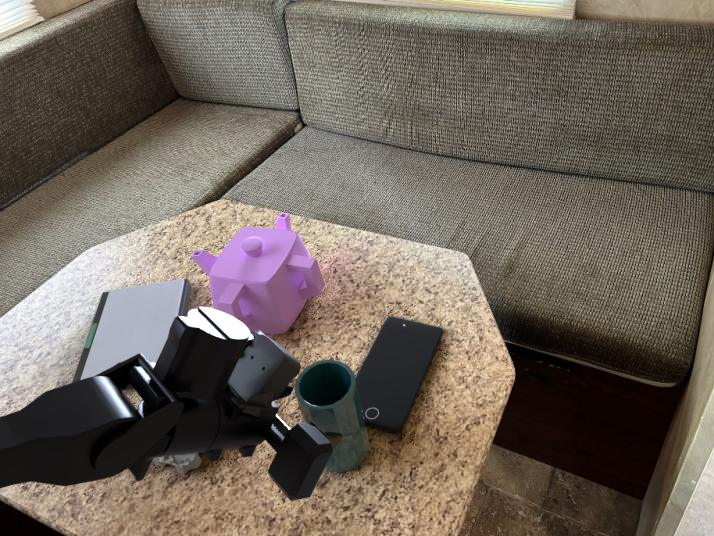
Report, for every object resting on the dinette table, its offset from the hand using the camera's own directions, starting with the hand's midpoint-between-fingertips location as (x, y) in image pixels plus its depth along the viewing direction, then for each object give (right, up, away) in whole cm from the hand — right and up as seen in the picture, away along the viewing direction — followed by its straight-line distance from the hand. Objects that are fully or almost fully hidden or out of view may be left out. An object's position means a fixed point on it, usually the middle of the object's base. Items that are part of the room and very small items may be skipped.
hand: (314, 413), depth 69 cm
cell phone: (+9, +1, +15) cm, 18 cm away
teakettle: (-12, +10, +29) cm, 33 cm away
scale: (-31, +4, +25) cm, 40 cm away
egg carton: (-19, -7, +10) cm, 23 cm away
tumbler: (+2, -6, +7) cm, 10 cm away
